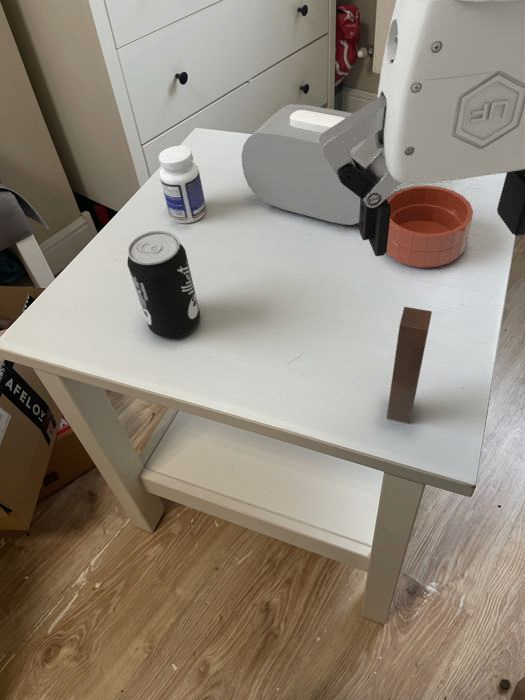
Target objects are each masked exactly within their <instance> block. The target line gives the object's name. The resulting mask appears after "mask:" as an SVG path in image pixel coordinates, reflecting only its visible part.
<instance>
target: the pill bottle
mask: <svg viewBox="0 0 525 700" xmlns="http://www.w3.org/2000/svg"><path fill="white" fill-rule="evenodd" d="M158 160H159V165H160V167H161V169H160V171H159V180H160V183H161V188H162V192H163V195H164V198H165V202H166V206H167V211H168V214H169V217H170V218H171V219H172V220H173V221H174V222H176V223H179V224H190V223H195V222H196V221H198V220H200V219H202V218H203V217H204V216H205V214H206V212H207V205H206V199H205V195H204V189H203V185H202V180H201V175H200V170H199V167H198V165H197V164H196V163H195V162H194V156H193V152H192V149H191V148H190V147H189V146H186V145H173V146H170V147H167V148H165V149H163V150H162V151H161V152H160V153H159V155H158Z"/></svg>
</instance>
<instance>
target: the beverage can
mask: <svg viewBox="0 0 525 700" xmlns="http://www.w3.org/2000/svg"><path fill="white" fill-rule="evenodd" d="M127 254H128V256H127V267H128V270H129V273H130V276H131V279H132V282H133V285H134V289H135V291H136V294H137V297H138V300H139V303H140V306H141V308H142V312H143V315H144V318H145V321H146V323H147V327H148V328H149V330H150V332H152V333H153V335H156V336H158V337H161V338H164V339H178V338H181V337H184V336H186V335H188V334H189V333H191V332H192V331H193V330H194V329H195V327H197V325H198V323H199V322H200V318H201V312H200V308H199V303H198V299H197V298H198V297H197V295H196V290H195V285H194V281H193V278H192V272H191V269H190V268H191V267H190V264H189V260H188V257H187V251H186V249H185V247H184V245H183V244H182V243H181V242H180V240H179V238H178V236H177V235H176V234H174V233H172V232H171V231H167V230H152V231H148V232H144V233H142V234H140V235H138V236H137V237H135V238H134V239H133V240H132V241H131V242H130V243H129V245H128V247H127Z"/></svg>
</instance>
